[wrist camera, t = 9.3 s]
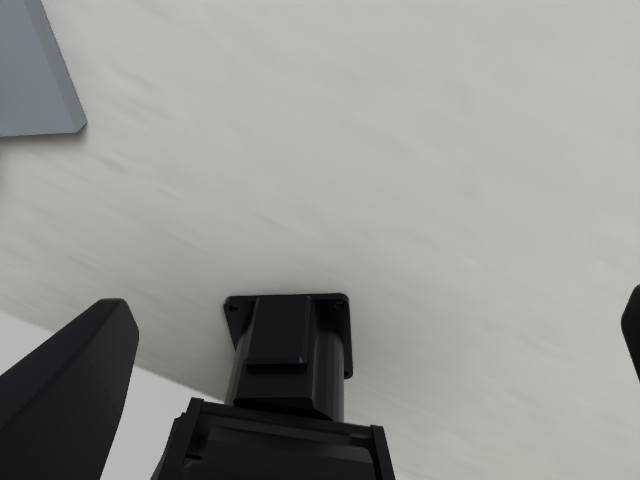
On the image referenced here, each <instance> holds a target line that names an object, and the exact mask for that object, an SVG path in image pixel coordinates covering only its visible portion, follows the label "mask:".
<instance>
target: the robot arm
mask: <svg viewBox="0 0 640 480" xmlns="http://www.w3.org/2000/svg"><path fill="white" fill-rule="evenodd" d="M338 302H341V303H342V304H337V303H338ZM232 305H235V306H236V307H235V306H232ZM224 311H225V315H226V319H227V322H228V326H229V329H230V333H231V337H232V340H233V344H234V348H235V351H236V355H235V359H234V363H233V368H232V372H231V377H230V381H229V386H228V390H227V394H226V399H225V403H224V404H219V403H213V402H206V401H204V399H200V398H194V397H192V398H191V400H190V403H189V406H188V408H187V411H186V413H184V412H182V414H181V417H178V418H176V419H174V422H173V425H172V429H171V432H170V435H169V438H168V441H167V444H166V448H165V450H164V453H163V455H162V457H161V460H160V462H159V463H158V465H157V467H156V469H155V471H154V473H153V475H152V477H151V479H150V480H395V476H394V471H393V467H392V463H391V458H390V454H389V450H388V446H387V441H386V437H385V433H384V428H383V426H376V425H370V427H369V426H363V425H356V424H350V423H344V379H349V378H351V377H352V376H353V361H352V342H351V324H350V306H349V298H348V297H347V296H346V295H345V294H341V293H330V294H294V295H257V296H231V297H228V298H227V299H226V300H225V304H224ZM621 329H622V333H623V335H624V338H625V341H626V344H627V347H628V350H629V353H630V356H631V359H632V361H633V364H634V367H635V370H636V373H637V376H638V379H639V382H640V284H639V285H637V286H636V287H635V288H634V290H633V292H632V294H631V296H630V299H629V301H628V303H627V306H626V308H625V310H624V313H623V315H622V318H621ZM138 342H139V330H138V326H137V324H136V322H135V320H134V317H133V315H132V313H131V311H130V308H129V306H128V304H127V302H126V301H125V300H124V299H121V298H105V299H101V300H99V301H97V302H96V303H94V304H93V305H92V306H91V307H89V308H88V309H87V310H85V311H84V312H83V313H81V314H80V315H79V316H78V317H76V318H75V319H74V320H72V321H71V322H70V323H68V324H67V325H66V326H65V327H63V328H62V329H61V330H59V331H58V332H57V333H55V334H54V335H53V336H52V337H50V338H49V339H48V340H46V341H45V342H44V343H43V344H41V345H40V346H39V347H37V348H36V349H35V350H33V351H32V352H31V353H29V354H28V355H27V356H25V357H24V358H23V359H22V360H20V361H19V362H18V363H16V364H15V365H14V366H12V367H11V368H10V369H9V370H7V371H6V372H5V373H3V374H2V375H1V376H0V480H100V477H101V475H102V472H103V469H104V466H105V463H106V460H107V457H108V454H109V451H110V448H111V445H112V442H113V440H114V437H115V434H116V431H117V428H118V425H119V422H120V419H121V415H122V412H123V407H124V403H125V399H126V395H127V390H128V386H129V382H130V377H131V373H132V368H133V364H134V360H135V355H136V351H137V346H138Z"/></svg>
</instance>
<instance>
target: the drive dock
mask: <svg viewBox="0 0 640 480" xmlns="http://www.w3.org/2000/svg"><path fill="white" fill-rule="evenodd" d="M86 123H87V120H86V117H85V114H84V112H83V109H82V107H81V104H80V101H79V99H78V96H77V94H76V91H75V89H74V86H73V83H72V81H71V78H70V76H69V73H68V70H67V68H66V65H65V63H64V60H63V57H62V55H61V52H60V50H59V47H58V45H57V42H56V39H55V37H54V34H53V32H52V29H51V26H50V24H49V21H48V19H47V16H46V14H45V11H44V8H43V6H42V3H41V1H40V0H0V137H2V136H20V135H38V134H56V133H74V132H77V131H79V130H80V129H81V128H82V127H83V126H84V125H85V124H86Z"/></svg>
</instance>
